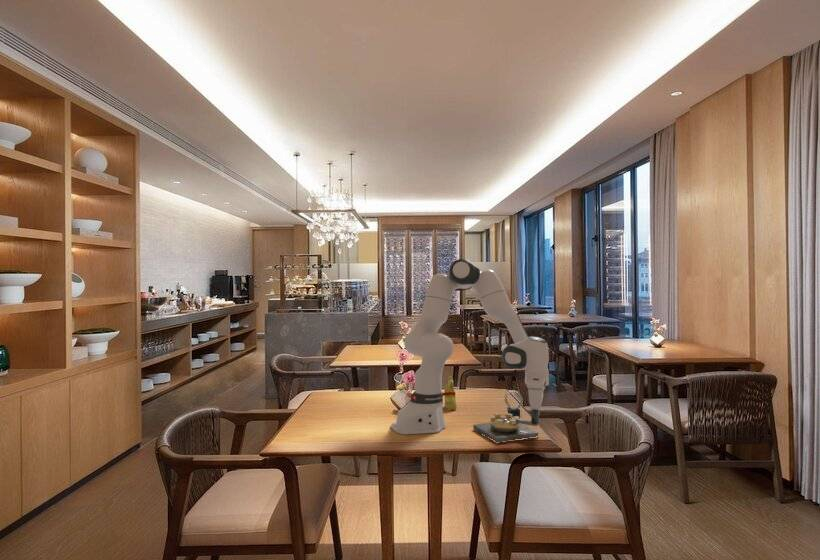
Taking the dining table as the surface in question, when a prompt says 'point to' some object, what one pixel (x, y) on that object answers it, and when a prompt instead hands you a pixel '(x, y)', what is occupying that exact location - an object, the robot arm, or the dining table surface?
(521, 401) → the watch
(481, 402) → the dining table surface
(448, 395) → the chocolate bunny
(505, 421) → the ball knob lever
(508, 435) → the plate
